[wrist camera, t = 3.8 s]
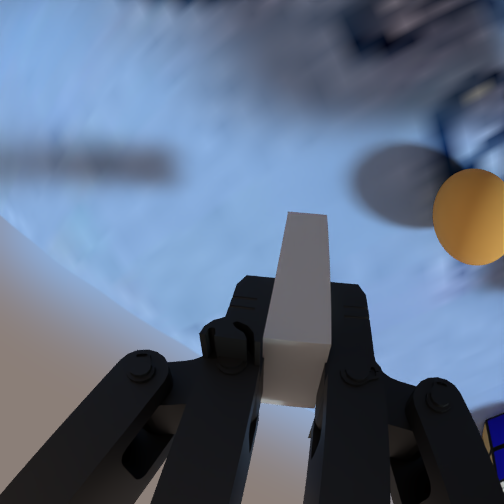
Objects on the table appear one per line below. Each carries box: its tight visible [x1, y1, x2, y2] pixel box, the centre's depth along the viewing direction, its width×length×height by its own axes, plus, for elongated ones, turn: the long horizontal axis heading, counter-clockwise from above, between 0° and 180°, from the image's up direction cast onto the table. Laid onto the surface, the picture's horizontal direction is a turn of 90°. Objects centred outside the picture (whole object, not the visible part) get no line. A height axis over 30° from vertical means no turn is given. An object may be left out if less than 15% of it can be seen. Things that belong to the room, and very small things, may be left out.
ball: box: [433, 169, 504, 265], centre depth 15 cm, size 6×6×6 cm
